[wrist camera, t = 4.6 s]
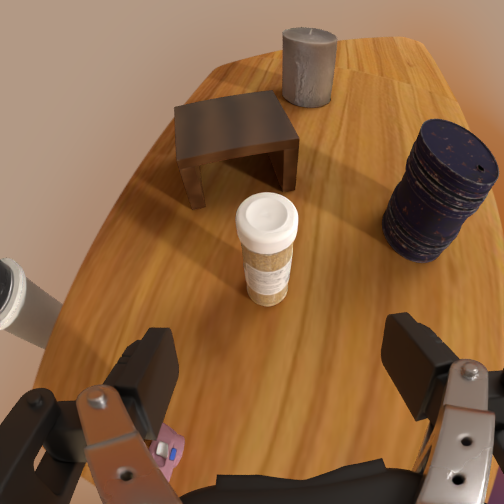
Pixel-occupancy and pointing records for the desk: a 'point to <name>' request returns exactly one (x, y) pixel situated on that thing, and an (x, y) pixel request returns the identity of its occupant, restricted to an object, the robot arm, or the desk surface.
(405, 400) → the robot arm
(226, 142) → the shelf
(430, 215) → the navy ridged cylinder
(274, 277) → the sprinkles bottle
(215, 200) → the desk surface
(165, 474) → the video game controller
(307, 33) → the pillar candle
